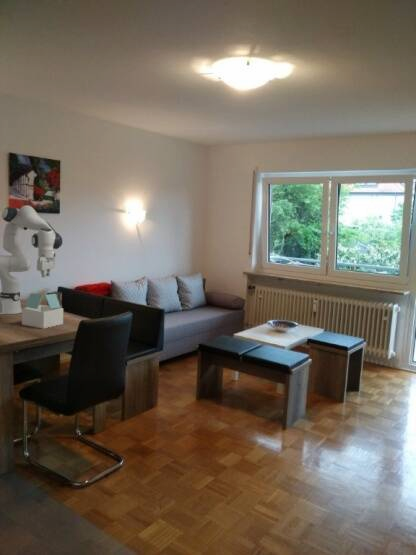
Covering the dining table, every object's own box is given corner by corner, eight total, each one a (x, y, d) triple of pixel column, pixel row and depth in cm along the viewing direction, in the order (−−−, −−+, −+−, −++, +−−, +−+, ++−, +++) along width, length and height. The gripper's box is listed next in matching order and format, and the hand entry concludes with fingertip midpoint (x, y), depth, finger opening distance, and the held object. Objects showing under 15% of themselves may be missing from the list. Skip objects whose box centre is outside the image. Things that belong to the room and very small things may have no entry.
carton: (20, 324, 272) (20, 308, 271) (41, 319, 287) (41, 304, 286) (43, 328, 264) (43, 312, 263) (63, 323, 279) (64, 308, 278)
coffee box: (53, 314, 305) (53, 291, 303) (62, 315, 304) (62, 292, 302) (46, 316, 296) (46, 293, 294) (55, 317, 295) (55, 293, 293)
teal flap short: (50, 308, 269) (44, 295, 270) (59, 307, 276) (54, 293, 277) (50, 308, 268) (45, 295, 269) (60, 306, 276) (55, 293, 277)
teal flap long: (24, 306, 270) (30, 293, 273) (25, 307, 270) (31, 293, 274) (36, 308, 266) (42, 295, 269) (37, 309, 266) (43, 295, 269)
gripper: (44, 255, 264) (44, 278, 266) (56, 253, 285) (56, 275, 286) (34, 255, 264) (33, 278, 266) (46, 253, 285) (46, 274, 286)
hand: (45, 276), depth 276 cm, fingers open, 6 cm apart
